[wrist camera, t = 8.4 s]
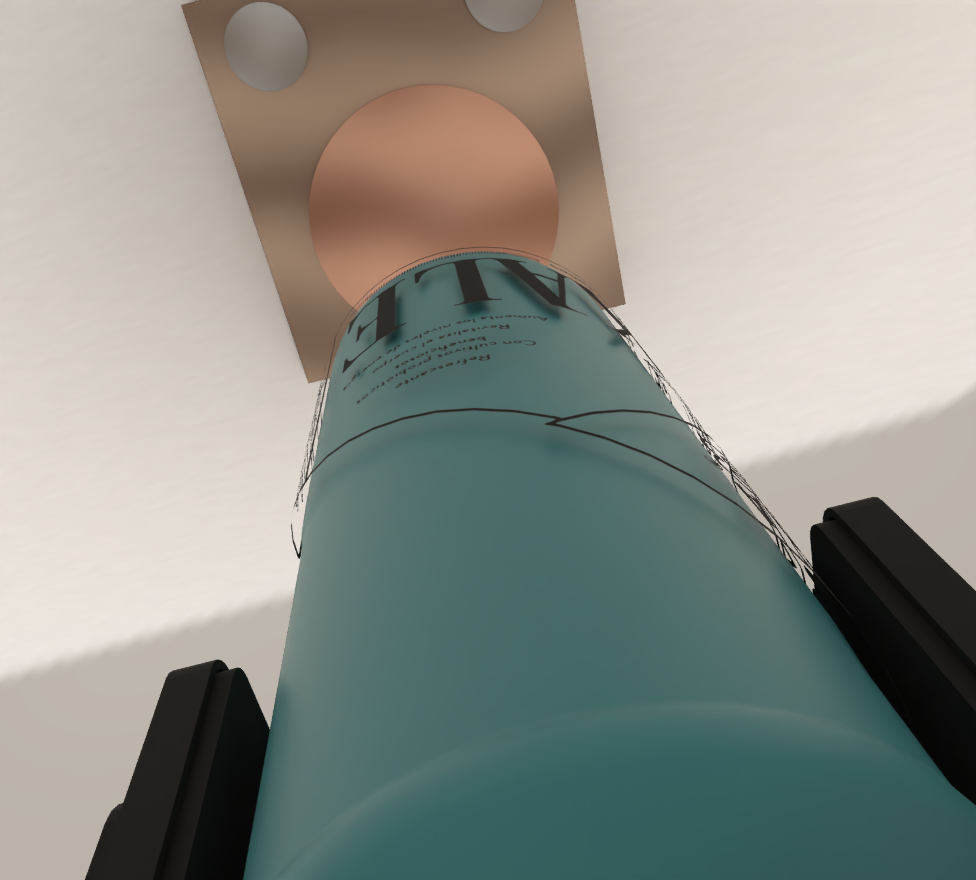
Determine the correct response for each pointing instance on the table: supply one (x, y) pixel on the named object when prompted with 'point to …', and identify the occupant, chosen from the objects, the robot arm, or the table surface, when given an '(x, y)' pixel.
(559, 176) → the board
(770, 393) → the table surface
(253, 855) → the beverage bottle
